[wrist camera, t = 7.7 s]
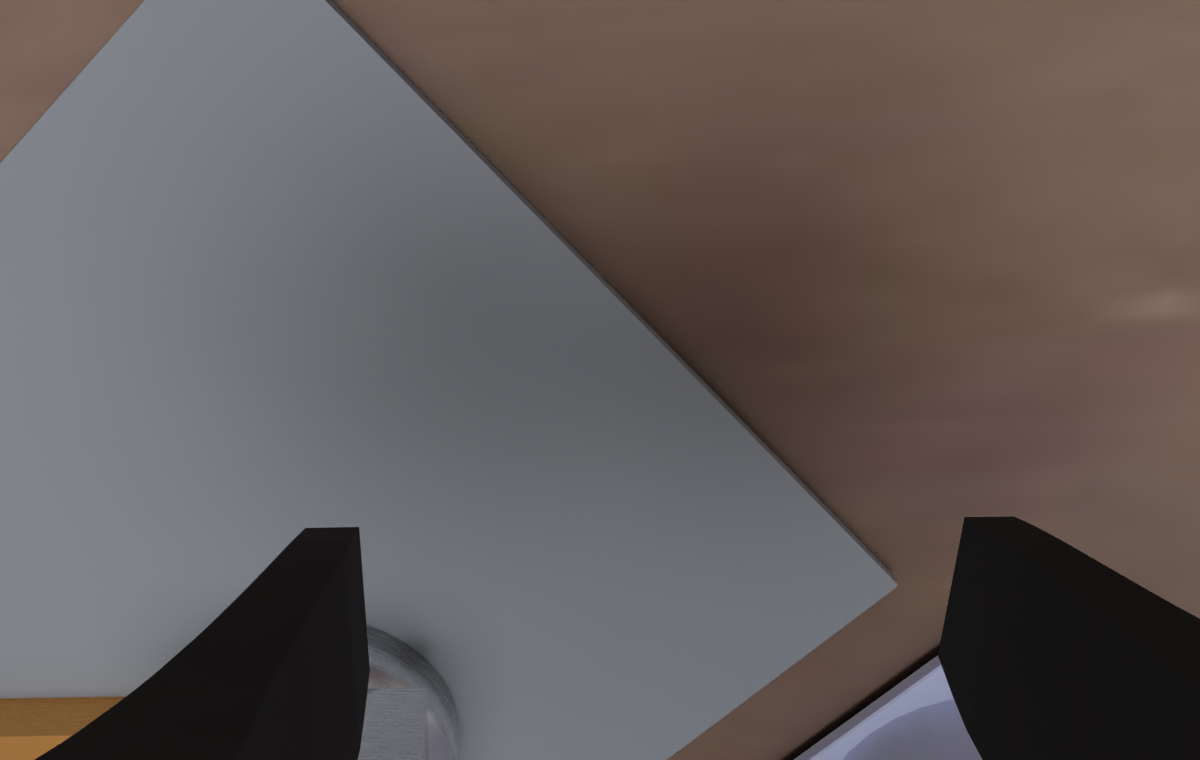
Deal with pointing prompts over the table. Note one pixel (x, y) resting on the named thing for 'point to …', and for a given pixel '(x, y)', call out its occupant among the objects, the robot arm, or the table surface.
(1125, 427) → the table surface
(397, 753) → the brushed metal cube
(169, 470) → the mat
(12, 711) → the scoop
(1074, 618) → the robot arm
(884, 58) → the table surface
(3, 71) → the table surface
